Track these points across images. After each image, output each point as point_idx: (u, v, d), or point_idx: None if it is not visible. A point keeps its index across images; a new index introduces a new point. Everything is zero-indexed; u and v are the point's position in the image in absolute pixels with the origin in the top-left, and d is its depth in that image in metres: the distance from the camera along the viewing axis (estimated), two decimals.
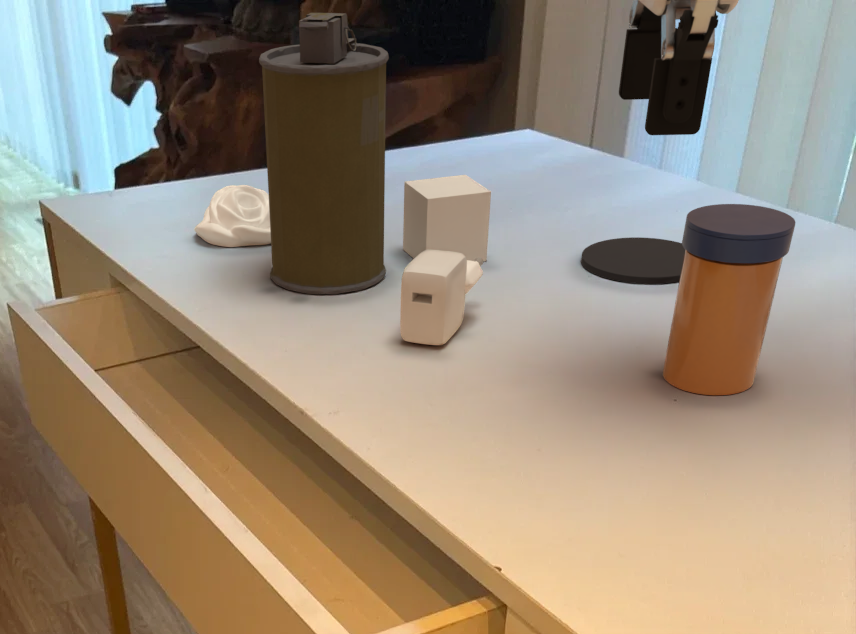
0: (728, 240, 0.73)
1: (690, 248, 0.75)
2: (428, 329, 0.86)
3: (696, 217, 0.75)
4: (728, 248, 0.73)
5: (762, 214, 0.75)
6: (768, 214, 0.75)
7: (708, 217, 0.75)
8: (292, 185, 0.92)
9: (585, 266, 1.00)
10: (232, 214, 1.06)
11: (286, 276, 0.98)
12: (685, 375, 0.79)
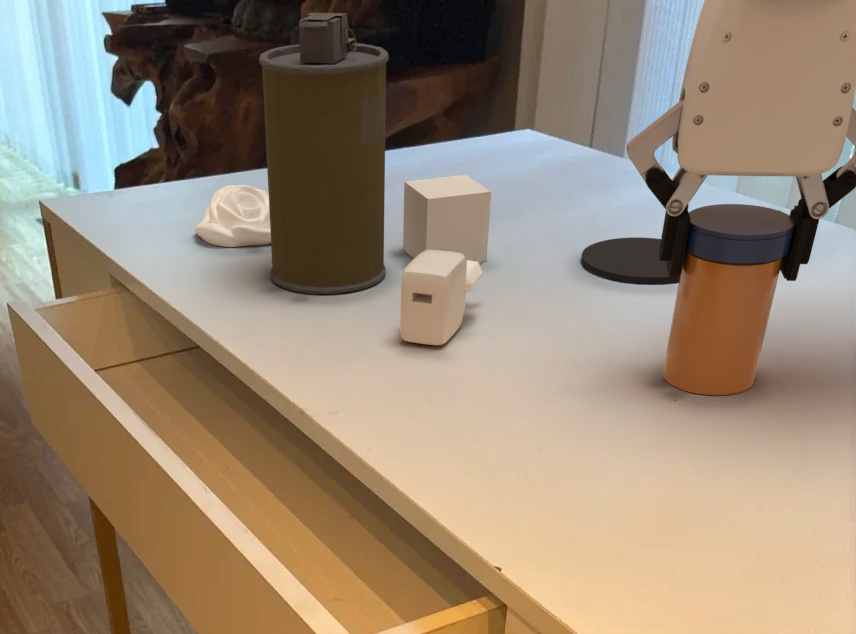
0: (728, 240, 0.73)
1: (690, 248, 0.75)
2: (428, 329, 0.86)
3: (696, 217, 0.75)
4: (728, 248, 0.73)
5: (762, 214, 0.75)
6: (768, 214, 0.75)
7: (708, 217, 0.75)
8: (292, 185, 0.92)
9: (585, 266, 1.00)
10: (232, 214, 1.06)
11: (286, 276, 0.98)
12: (685, 375, 0.79)
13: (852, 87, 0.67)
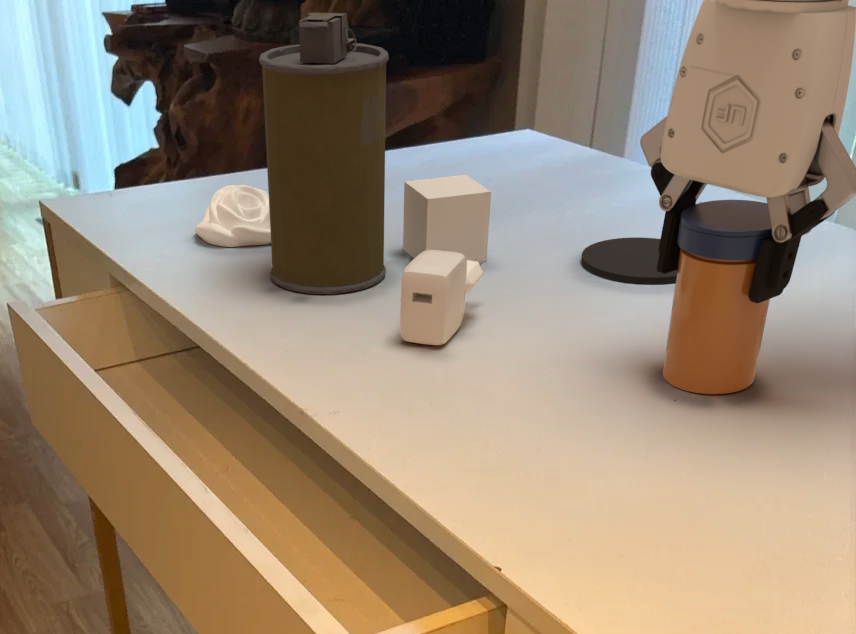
0: None
1: None
2: (428, 329, 0.86)
3: None
4: None
5: (705, 214, 0.75)
6: (700, 213, 0.75)
7: (760, 222, 0.73)
8: (292, 185, 0.92)
9: (585, 266, 1.00)
10: (232, 214, 1.06)
11: (286, 276, 0.98)
12: (685, 375, 0.79)
13: None
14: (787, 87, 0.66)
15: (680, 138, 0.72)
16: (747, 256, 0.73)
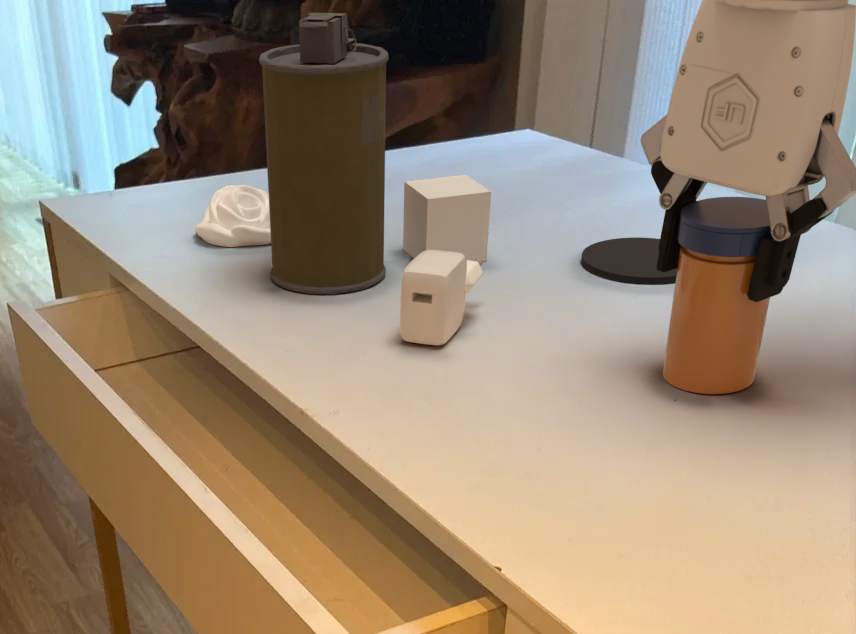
0: None
1: None
2: (428, 329, 0.86)
3: (729, 199, 0.76)
4: (680, 223, 0.76)
5: (756, 218, 0.73)
6: (758, 220, 0.73)
7: (732, 202, 0.76)
8: (292, 185, 0.92)
9: (585, 266, 1.00)
10: (232, 214, 1.06)
11: (286, 276, 0.98)
12: (685, 375, 0.79)
13: None
14: (786, 85, 0.66)
15: (680, 136, 0.72)
16: None
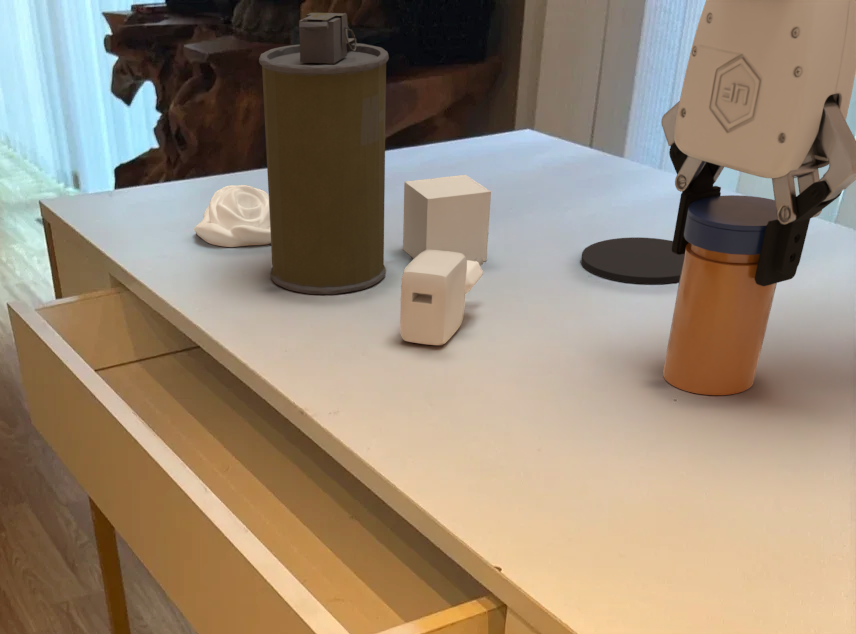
0: None
1: (723, 248, 0.73)
2: (428, 329, 0.86)
3: (711, 217, 0.73)
4: None
5: (745, 202, 0.76)
6: (748, 201, 0.76)
7: (719, 215, 0.74)
8: (292, 185, 0.92)
9: (585, 266, 1.00)
10: (232, 214, 1.06)
11: (286, 276, 0.98)
12: (686, 375, 0.79)
13: None
14: (786, 66, 0.65)
15: (690, 117, 0.72)
16: (685, 235, 0.75)
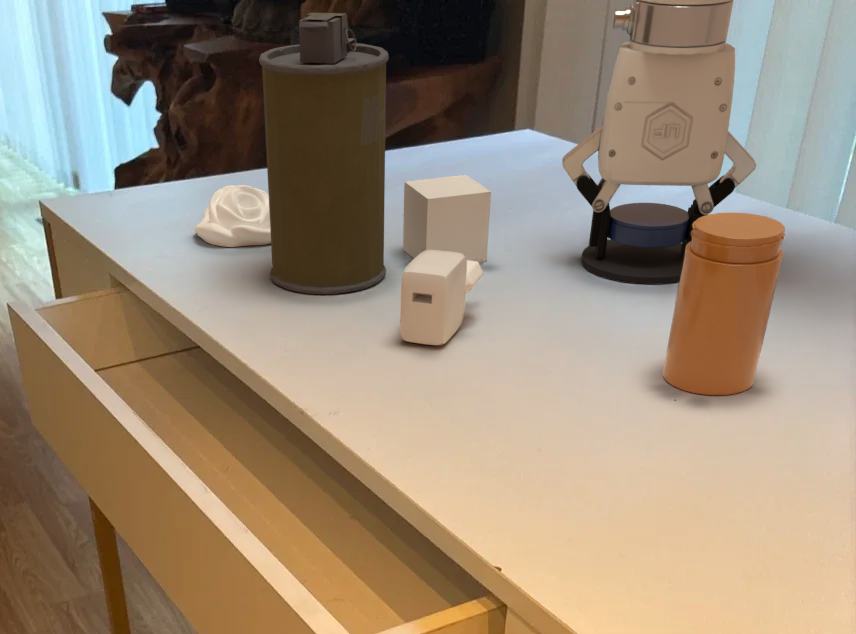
0: (688, 222, 0.97)
1: (669, 243, 0.97)
2: (428, 329, 0.86)
3: (652, 223, 0.96)
4: (687, 228, 0.98)
5: (634, 208, 1.00)
6: (633, 207, 1.00)
7: (650, 221, 0.97)
8: (292, 185, 0.92)
9: (585, 266, 1.00)
10: (232, 214, 1.06)
11: (286, 276, 0.98)
12: (686, 375, 0.79)
13: None
14: (713, 105, 0.90)
15: (621, 155, 0.93)
16: (626, 242, 0.97)
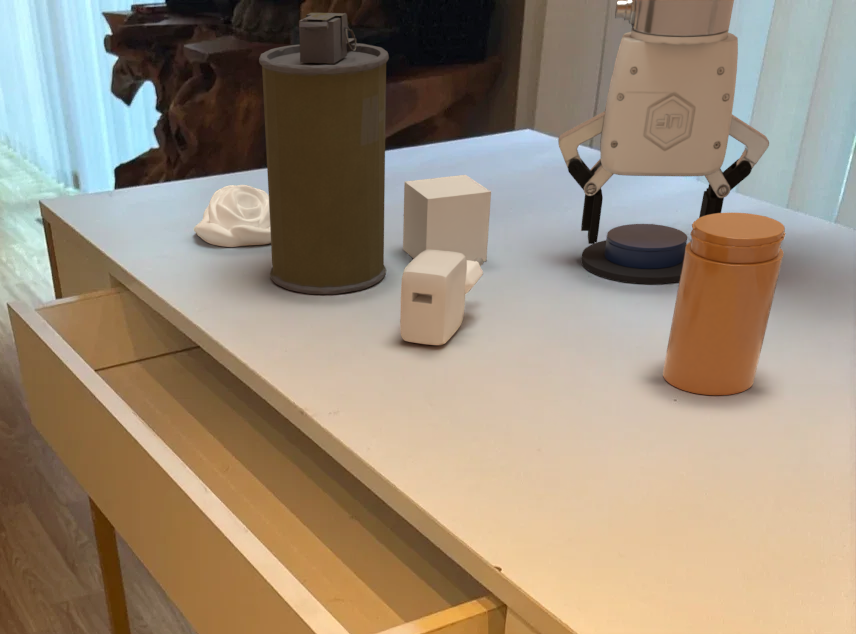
0: None
1: (667, 264, 0.98)
2: (428, 329, 0.86)
3: (650, 245, 0.97)
4: (684, 249, 0.99)
5: (632, 230, 1.01)
6: (631, 228, 1.01)
7: (648, 242, 0.98)
8: (292, 185, 0.92)
9: (585, 266, 1.00)
10: (231, 214, 1.06)
11: (286, 276, 0.98)
12: (686, 375, 0.79)
13: None
14: (716, 94, 0.89)
15: (624, 146, 0.93)
16: (624, 264, 0.98)
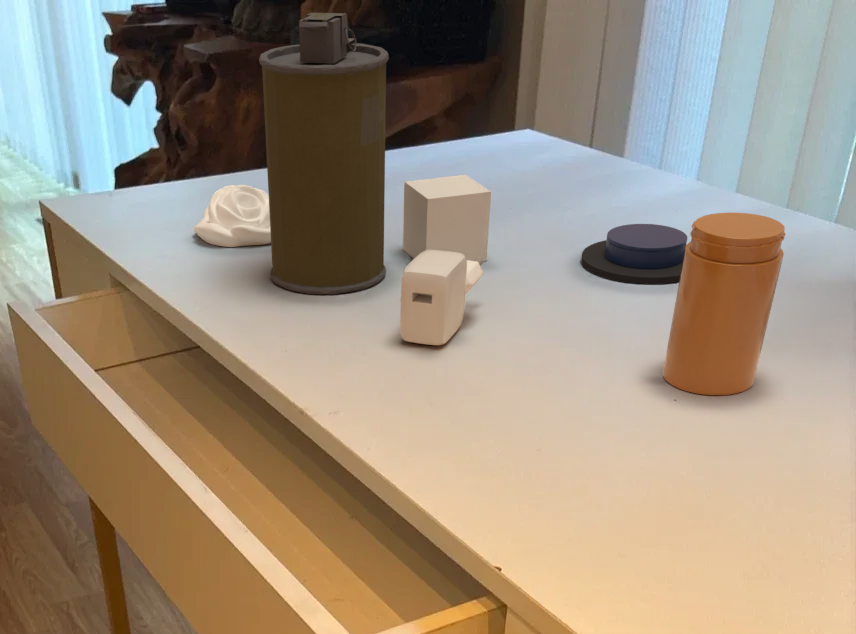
0: None
1: (667, 264, 0.98)
2: (428, 329, 0.86)
3: (650, 245, 0.97)
4: (684, 249, 0.99)
5: (632, 230, 1.01)
6: (631, 228, 1.01)
7: (648, 242, 0.98)
8: (292, 185, 0.92)
9: (585, 266, 1.00)
10: (231, 214, 1.06)
11: (286, 276, 0.98)
12: (686, 375, 0.79)
13: None
14: None
15: None
16: (624, 264, 0.98)
